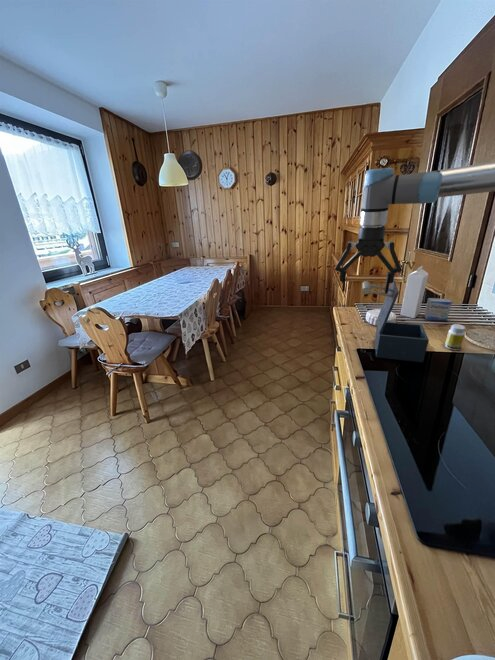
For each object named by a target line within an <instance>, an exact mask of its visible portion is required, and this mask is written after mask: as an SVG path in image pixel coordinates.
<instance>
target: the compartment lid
mask: <svg viewBox="0 0 495 660" xmlns="http://www.w3.org/2000/svg"><path fill="white" fill-rule="evenodd" d="M396 283H397V282H396V281H395V280H393V283H390V285H389V289H388V293H385V292H381V291H378V290H383V291H385V286H380V285H376V284H371V283H370V282H369V281H368V280H365V281H363V282H362V284H361V288H362V294H364V295H369V294H376V295H379V296H383V297H385V298H384V301H383V303H382V306H381V308H380V309H381V311H380V313H379V316H378V318H377V324H378V331H379V334H382V332H383V329H384V327H385V325H386V322H387V320H388V318H389V315H390V313H391V312H393V309H394V306H395V303H396V301H397V299H398V296H399V294H400V292H399V288H398V286H397V284H396ZM371 288H373V289H378V290H377V291H376V290H372V289H371Z"/></svg>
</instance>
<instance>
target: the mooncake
mask: <svg viewBox="0 0 495 660" xmlns="http://www.w3.org/2000/svg"><path fill="white" fill-rule="evenodd" d="M380 311H381V308H375V309H370V310H368V311H367V312H366V313H365V314H366V315H365V321H366V322H367V323H368V324H370V325H373V326H375V327H377V318H378V316H379V313H380ZM387 322H396V323H397V314H396V313H395V312H393V311H391V313H390V315H389V318H388V320H387Z"/></svg>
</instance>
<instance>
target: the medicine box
mask: <svg viewBox="0 0 495 660" xmlns="http://www.w3.org/2000/svg"><path fill="white" fill-rule="evenodd" d="M452 304H453V302H452V301H451V299H450V298H438V297H428V298H427V301H426V306H425V310H424V314H423V316H424V318H425V319H426V320H427V321H444V322H445V321H446V322H447V321H448V317H449V314H450V311H451V308H452Z"/></svg>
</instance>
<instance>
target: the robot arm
mask: <svg viewBox="0 0 495 660" xmlns="http://www.w3.org/2000/svg"><path fill="white" fill-rule="evenodd" d="M394 170H395V169H394V168H393V167H383V168H373V169H368V170H367V171H366V173H365V176H364V180H363V181H364V182H363V187H362V197H361V208H360V217H359V225H360V227H359V228H358V236H357V242H352V241H348V242H347V244H346V248H345V250H344V252H343V253H342V255H341V257H340V258H339V260H338V261H337V263H336V265H335V267H334V271H336V272H339V282H340V283H342V287H341V289H342V290H341V292H346V291H345V290H346V280H347V279H346V278H347V270H348V268H350V267H351V266H352V264H354V263H355V262H356V261H357V260H358V259H359V258H360V257H361V256H362V257H364V258H367V257H371V258H374V257H376V256H377V257H378V258H379V259H380V261H381V262H382V264H383V265H384V267H386V268H387V270H388V271H387V273H386V279H385V284H384V285H385V286H384V287H385V290H384V293H386V294H387V293H388V289H389V288H390V284H391V283H393V281H395V274H396V273H401V272H402V271H403V269H402V266H401V264H400V261H399V258H398V255H397V252H396V251H395V242H394V241H393V240H390V241H387V242H385V233H386V226H385V225H386V224H387V221H388V213H389V206H390V205H412V204H413V205H414V204H417V205H418V204H421V205H423V204H432V203H435V202H437V200H438V198H447V197H456V196H465V195H473V194H484V193H492V192H493V193H494V192H495V161H489V162H483V163H477V164H470V165H464V166H463V165H462V166H458V167H451V168H444V169H438V170H431V171H424V172H416V173H408V174H395V171H394ZM354 248H355V249H356V250H357V251H356V252H355V253H354V255H352V256H351V258H349V260H347V261H346V262H345V263H344V261H345V260H346V258H347V257H348V255H349V254H350V252H351V250H353V249H354ZM385 248H386V250H389V252H390V255H391V258H392V260H393V263H394V265H395V267H393V266H392V264H391V263H390V262H389V260H388V259H387V258H386V257H385V255H384V254H383V252H382V250H383V249H385ZM343 263H344V264H343Z"/></svg>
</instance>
